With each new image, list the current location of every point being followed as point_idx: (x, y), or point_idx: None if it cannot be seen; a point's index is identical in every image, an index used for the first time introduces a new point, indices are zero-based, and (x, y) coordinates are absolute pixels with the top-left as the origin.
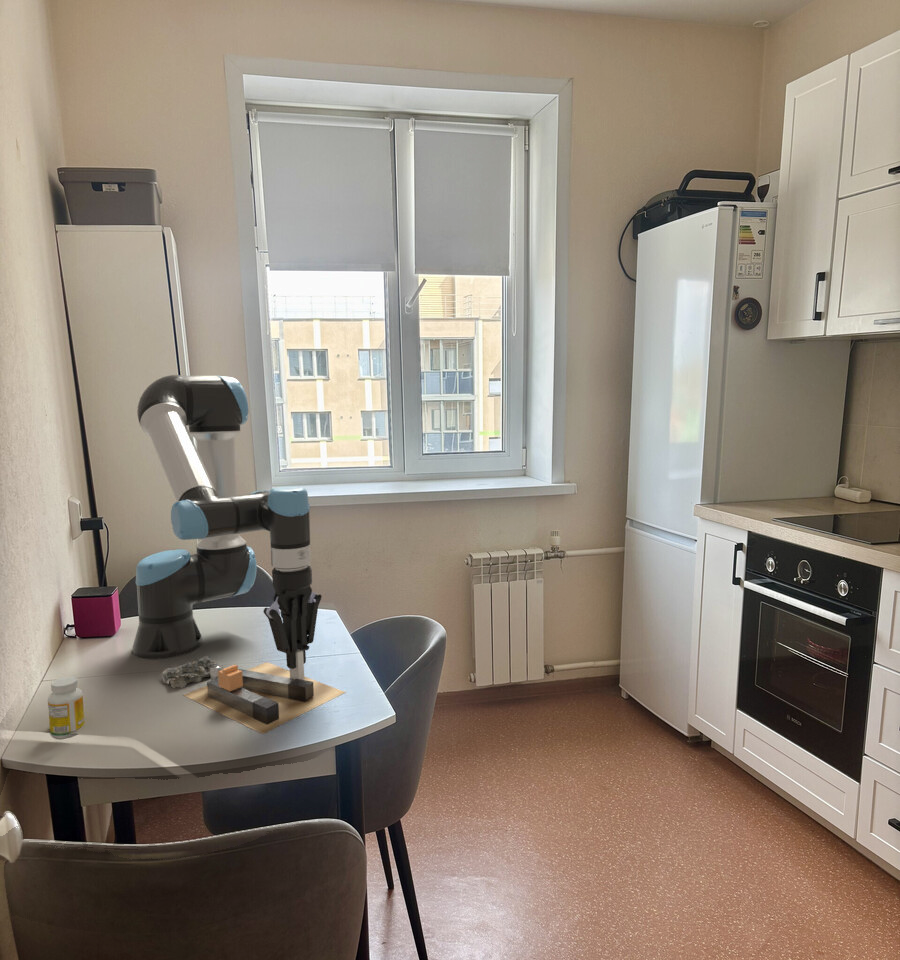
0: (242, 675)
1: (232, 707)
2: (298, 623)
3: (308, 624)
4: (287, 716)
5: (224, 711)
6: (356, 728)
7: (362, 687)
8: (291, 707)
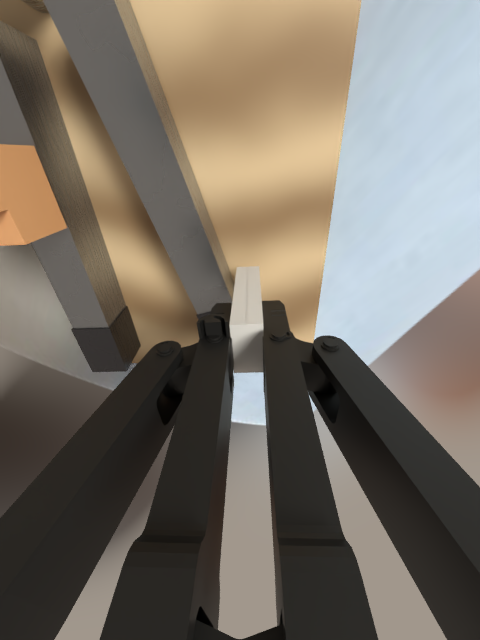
0: (98, 109)
1: None
2: (271, 492)
3: (357, 454)
4: None
5: None
6: (235, 419)
7: (369, 343)
8: (185, 328)
